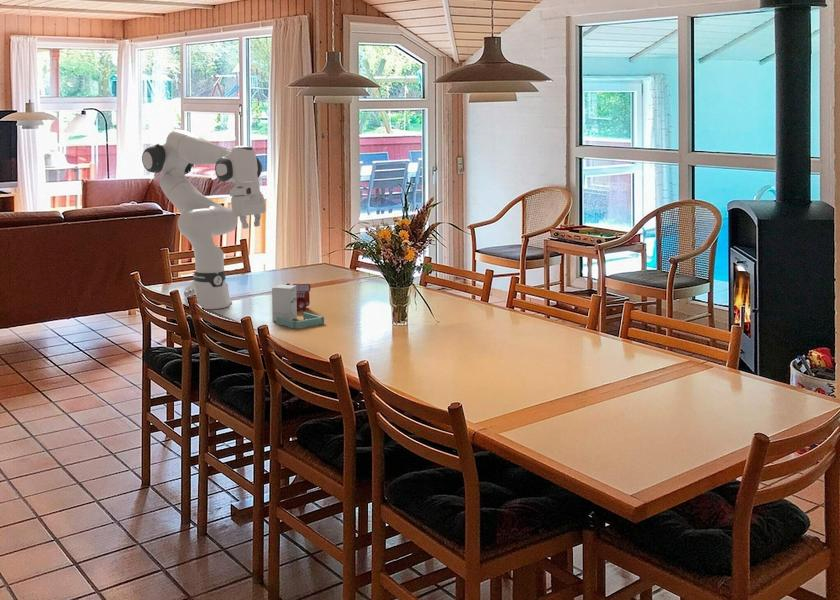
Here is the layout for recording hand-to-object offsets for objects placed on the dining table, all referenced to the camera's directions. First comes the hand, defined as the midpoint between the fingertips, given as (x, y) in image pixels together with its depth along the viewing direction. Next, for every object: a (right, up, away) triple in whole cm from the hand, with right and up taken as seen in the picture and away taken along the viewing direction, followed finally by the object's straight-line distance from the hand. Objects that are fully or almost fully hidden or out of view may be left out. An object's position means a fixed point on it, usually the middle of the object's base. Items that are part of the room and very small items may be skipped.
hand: (251, 227), depth 347 cm
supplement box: (+12, -34, +3) cm, 37 cm away
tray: (+19, -36, -4) cm, 40 cm away
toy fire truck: (+13, -31, +22) cm, 40 cm away
